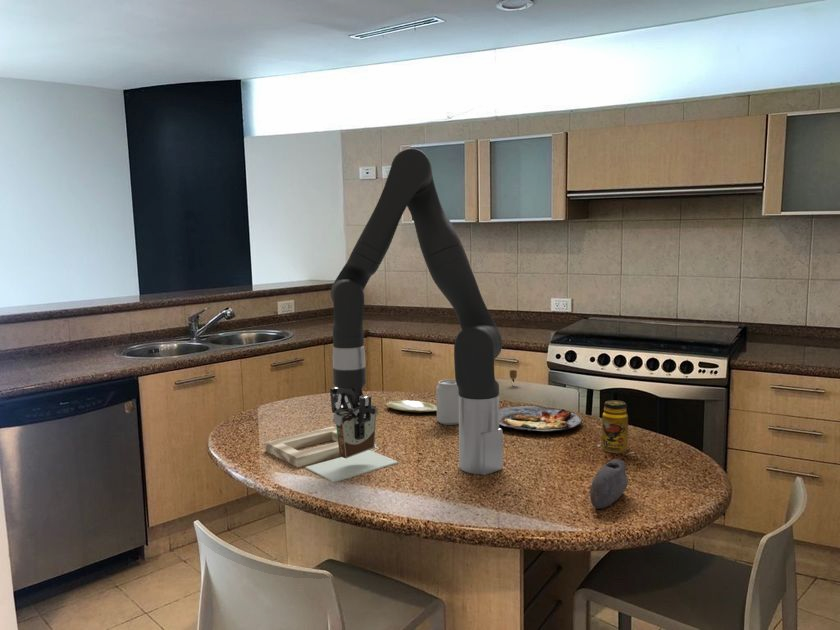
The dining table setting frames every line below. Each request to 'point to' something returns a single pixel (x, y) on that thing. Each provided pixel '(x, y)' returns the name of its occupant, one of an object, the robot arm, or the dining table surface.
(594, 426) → the dining table surface
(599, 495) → the perforated stone tool
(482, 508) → the dining table surface
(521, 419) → the food plate
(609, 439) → the condiment
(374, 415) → the patterned half cylinder
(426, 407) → the oval serving platter
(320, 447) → the frame
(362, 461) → the mat
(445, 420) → the can
